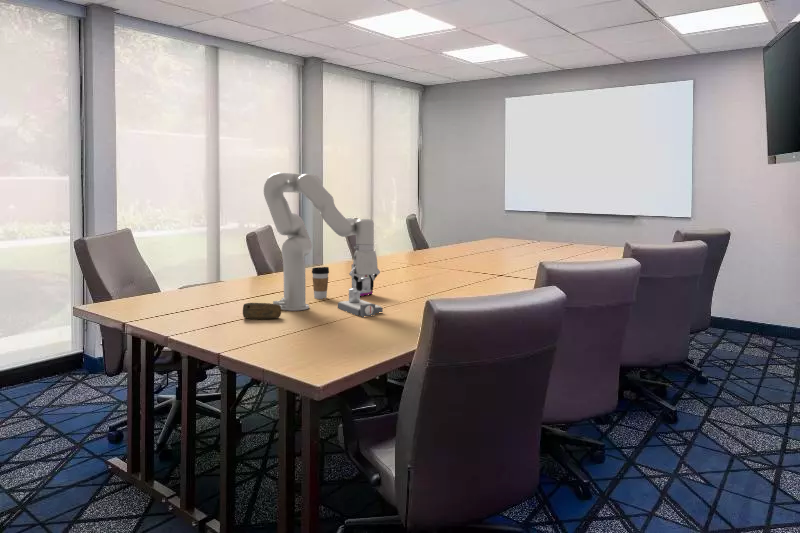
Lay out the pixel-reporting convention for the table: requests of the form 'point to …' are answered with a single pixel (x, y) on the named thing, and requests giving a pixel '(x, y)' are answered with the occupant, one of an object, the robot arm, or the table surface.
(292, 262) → the robot arm
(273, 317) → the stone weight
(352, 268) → the candy bar box
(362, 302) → the scale
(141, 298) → the table surface
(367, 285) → the cylinder
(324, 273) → the coffee cup
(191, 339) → the table surface
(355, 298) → the cylinder
